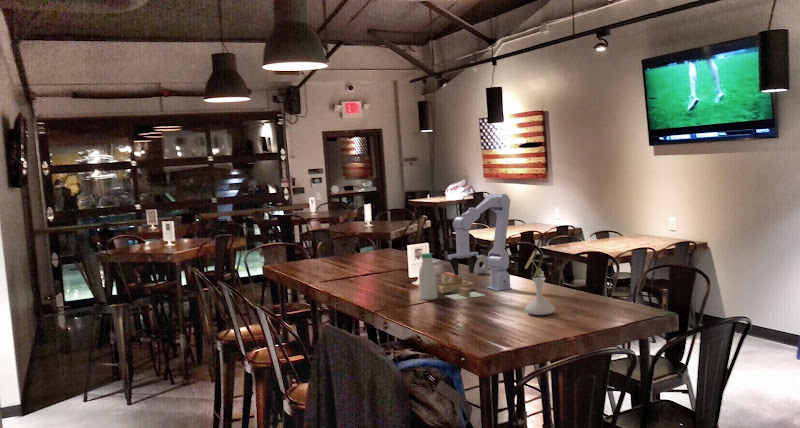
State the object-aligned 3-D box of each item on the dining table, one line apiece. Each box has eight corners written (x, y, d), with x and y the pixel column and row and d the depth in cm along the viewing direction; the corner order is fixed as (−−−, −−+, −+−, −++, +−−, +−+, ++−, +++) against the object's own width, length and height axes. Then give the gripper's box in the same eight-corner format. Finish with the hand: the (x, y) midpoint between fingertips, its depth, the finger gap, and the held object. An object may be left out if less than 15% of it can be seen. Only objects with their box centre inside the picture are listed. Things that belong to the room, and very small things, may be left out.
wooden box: (474, 289, 316) (474, 283, 315) (443, 294, 309) (443, 287, 309) (462, 286, 326) (462, 280, 325) (432, 290, 319) (432, 284, 319)
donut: (475, 275, 356) (474, 256, 355) (471, 274, 359) (471, 255, 358) (491, 273, 360) (490, 254, 359) (487, 272, 363) (487, 253, 362)
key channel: (462, 286, 326) (461, 276, 325) (453, 287, 324) (453, 277, 323) (449, 282, 337) (448, 273, 337) (441, 283, 336) (440, 274, 335)
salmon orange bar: (457, 278, 327) (457, 274, 327) (453, 278, 326) (453, 275, 326) (447, 275, 336) (447, 272, 336) (443, 275, 335) (443, 272, 335)
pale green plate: (486, 296, 302) (485, 288, 301) (455, 301, 296) (455, 292, 295) (474, 293, 311) (474, 284, 311) (444, 297, 305) (444, 288, 305)
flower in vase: (534, 309, 270) (532, 247, 268) (560, 312, 263) (558, 248, 261) (517, 316, 260) (515, 251, 258) (544, 319, 253) (542, 252, 251)
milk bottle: (435, 300, 296) (434, 254, 295) (418, 300, 298) (416, 255, 297) (438, 296, 304) (436, 252, 303) (421, 296, 306) (419, 252, 304)
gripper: (472, 241, 308) (473, 271, 309) (444, 244, 302) (445, 274, 303) (480, 242, 301) (481, 273, 302) (451, 245, 295) (452, 276, 296)
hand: (463, 274), depth 302 cm, fingers open, 7 cm apart
